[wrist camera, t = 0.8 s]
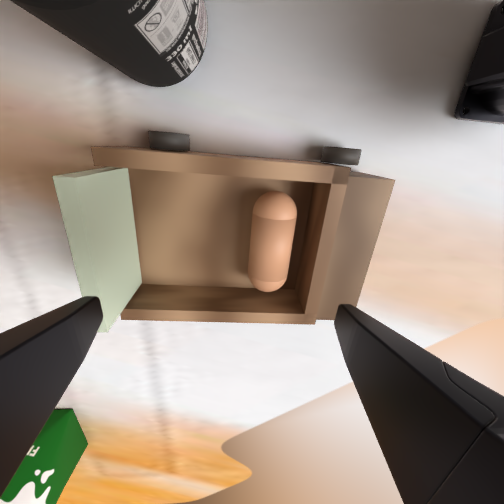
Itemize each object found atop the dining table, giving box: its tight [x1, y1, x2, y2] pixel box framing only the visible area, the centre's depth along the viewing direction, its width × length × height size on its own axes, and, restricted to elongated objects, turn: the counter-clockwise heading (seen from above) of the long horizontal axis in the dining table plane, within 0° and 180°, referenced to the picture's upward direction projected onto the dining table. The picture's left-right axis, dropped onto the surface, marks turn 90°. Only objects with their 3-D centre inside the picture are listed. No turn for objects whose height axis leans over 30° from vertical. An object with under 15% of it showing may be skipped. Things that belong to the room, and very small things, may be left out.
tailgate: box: [52, 167, 142, 332], centre depth 16 cm, size 1×9×6 cm, turn 176°
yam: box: [248, 191, 297, 292], centre depth 18 cm, size 3×8×3 cm, turn 176°
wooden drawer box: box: [91, 131, 395, 324], centre depth 18 cm, size 18×14×4 cm
